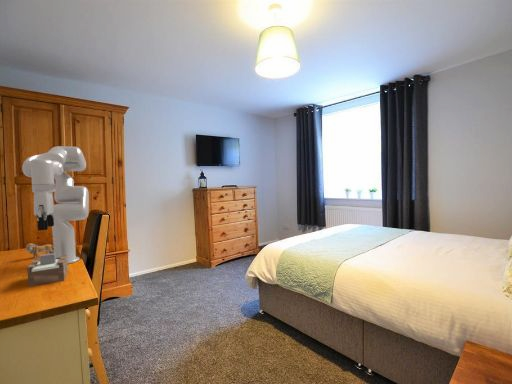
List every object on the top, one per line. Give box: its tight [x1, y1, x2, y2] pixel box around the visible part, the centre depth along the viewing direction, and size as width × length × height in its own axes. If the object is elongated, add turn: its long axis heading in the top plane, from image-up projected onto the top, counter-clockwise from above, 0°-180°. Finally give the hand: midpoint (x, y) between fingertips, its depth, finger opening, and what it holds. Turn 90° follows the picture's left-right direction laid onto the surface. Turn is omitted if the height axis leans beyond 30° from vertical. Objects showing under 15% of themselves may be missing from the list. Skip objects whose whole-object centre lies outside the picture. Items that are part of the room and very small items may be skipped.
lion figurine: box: [25, 243, 54, 259], centre depth 156 cm, size 15×5×9 cm, turn 151°
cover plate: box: [32, 252, 60, 272], centre depth 117 cm, size 13×9×5 cm
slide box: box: [26, 255, 69, 288], centre depth 118 cm, size 14×12×8 cm
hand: (46, 228), depth 115 cm, fingers open, 9 cm apart
